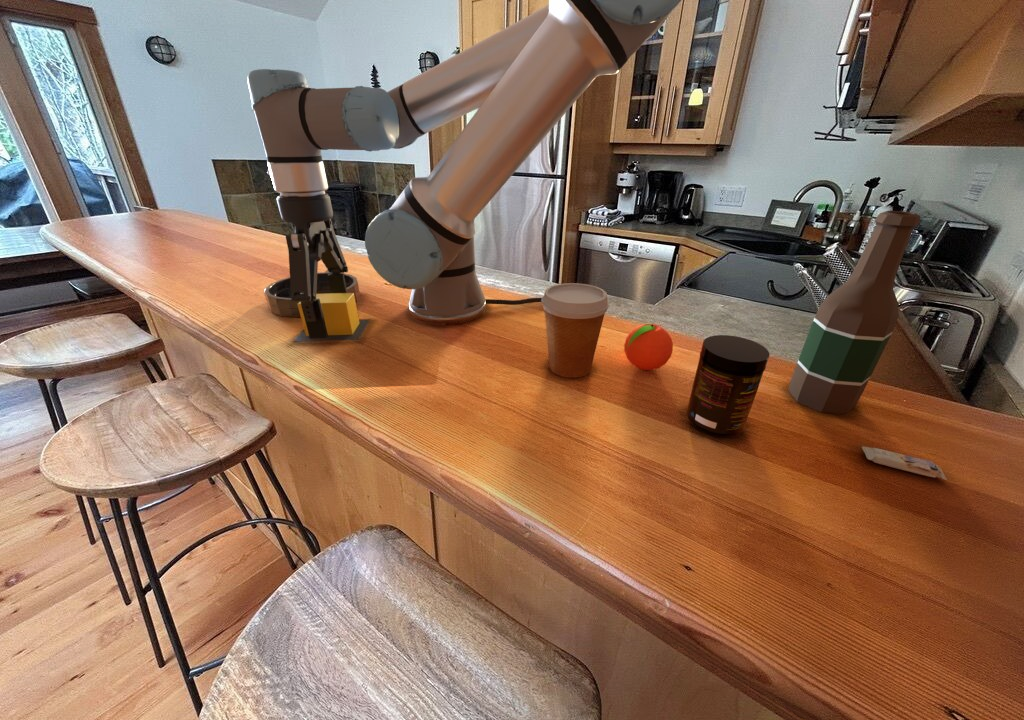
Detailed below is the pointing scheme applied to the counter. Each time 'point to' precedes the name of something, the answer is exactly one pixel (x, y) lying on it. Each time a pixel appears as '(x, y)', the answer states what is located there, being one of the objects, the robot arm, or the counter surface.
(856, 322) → the beer bottle
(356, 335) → the mat
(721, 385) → the supplement container
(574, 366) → the disposable coffee cup
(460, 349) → the counter surface
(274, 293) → the pan
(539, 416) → the counter surface
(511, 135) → the robot arm
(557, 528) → the counter surface
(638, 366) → the clementine
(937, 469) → the granola bar
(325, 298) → the sponge
